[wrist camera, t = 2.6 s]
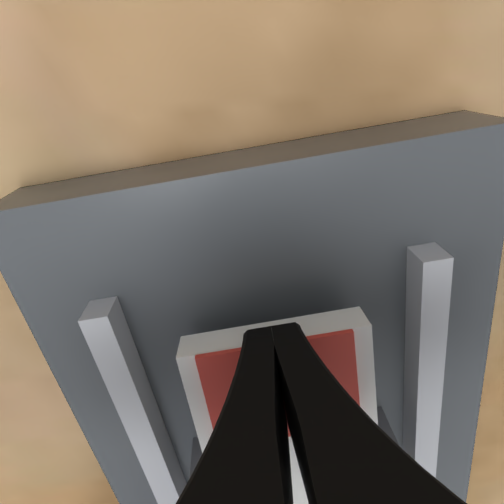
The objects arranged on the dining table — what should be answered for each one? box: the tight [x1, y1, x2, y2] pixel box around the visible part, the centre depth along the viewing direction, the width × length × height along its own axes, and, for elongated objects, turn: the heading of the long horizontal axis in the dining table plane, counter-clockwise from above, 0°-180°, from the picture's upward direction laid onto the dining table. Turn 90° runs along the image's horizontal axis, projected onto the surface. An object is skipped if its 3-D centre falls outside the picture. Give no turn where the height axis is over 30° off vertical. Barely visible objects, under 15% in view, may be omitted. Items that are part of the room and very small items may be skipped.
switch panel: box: [0, 110, 504, 504], centre depth 14 cm, size 20×14×5 cm
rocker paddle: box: [176, 306, 378, 504], centre depth 12 cm, size 12×5×1 cm, turn 9°
